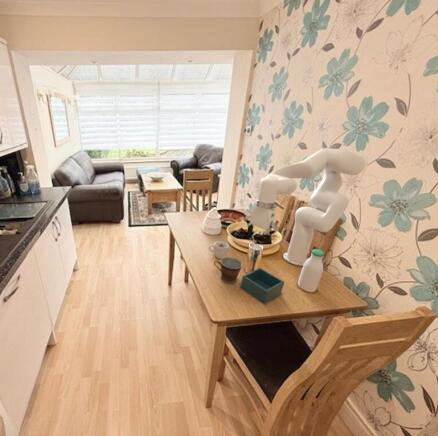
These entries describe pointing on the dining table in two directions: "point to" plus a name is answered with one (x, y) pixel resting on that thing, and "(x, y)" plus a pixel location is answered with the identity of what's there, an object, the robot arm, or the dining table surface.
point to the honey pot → (212, 222)
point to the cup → (219, 249)
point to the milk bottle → (311, 271)
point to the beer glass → (253, 257)
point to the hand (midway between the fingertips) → (257, 237)
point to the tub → (262, 285)
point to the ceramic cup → (229, 269)
